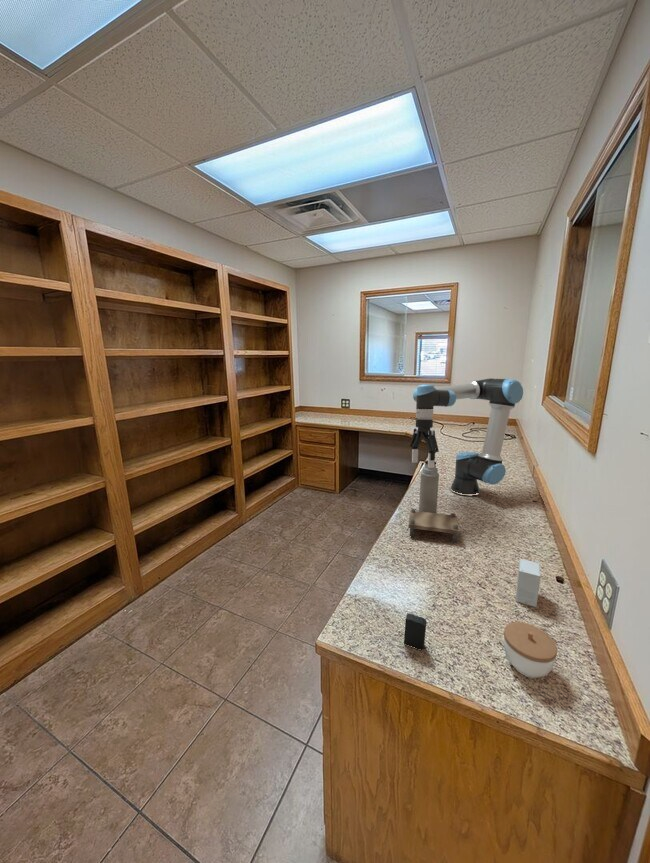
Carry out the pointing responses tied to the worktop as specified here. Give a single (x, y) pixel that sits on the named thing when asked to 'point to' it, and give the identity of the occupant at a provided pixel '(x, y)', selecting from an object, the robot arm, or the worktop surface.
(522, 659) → the lidded jar
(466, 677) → the worktop surface
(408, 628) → the ink cartridge
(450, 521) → the peg shelf
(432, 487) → the thermos bottle
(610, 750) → the worktop surface
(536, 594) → the small box
